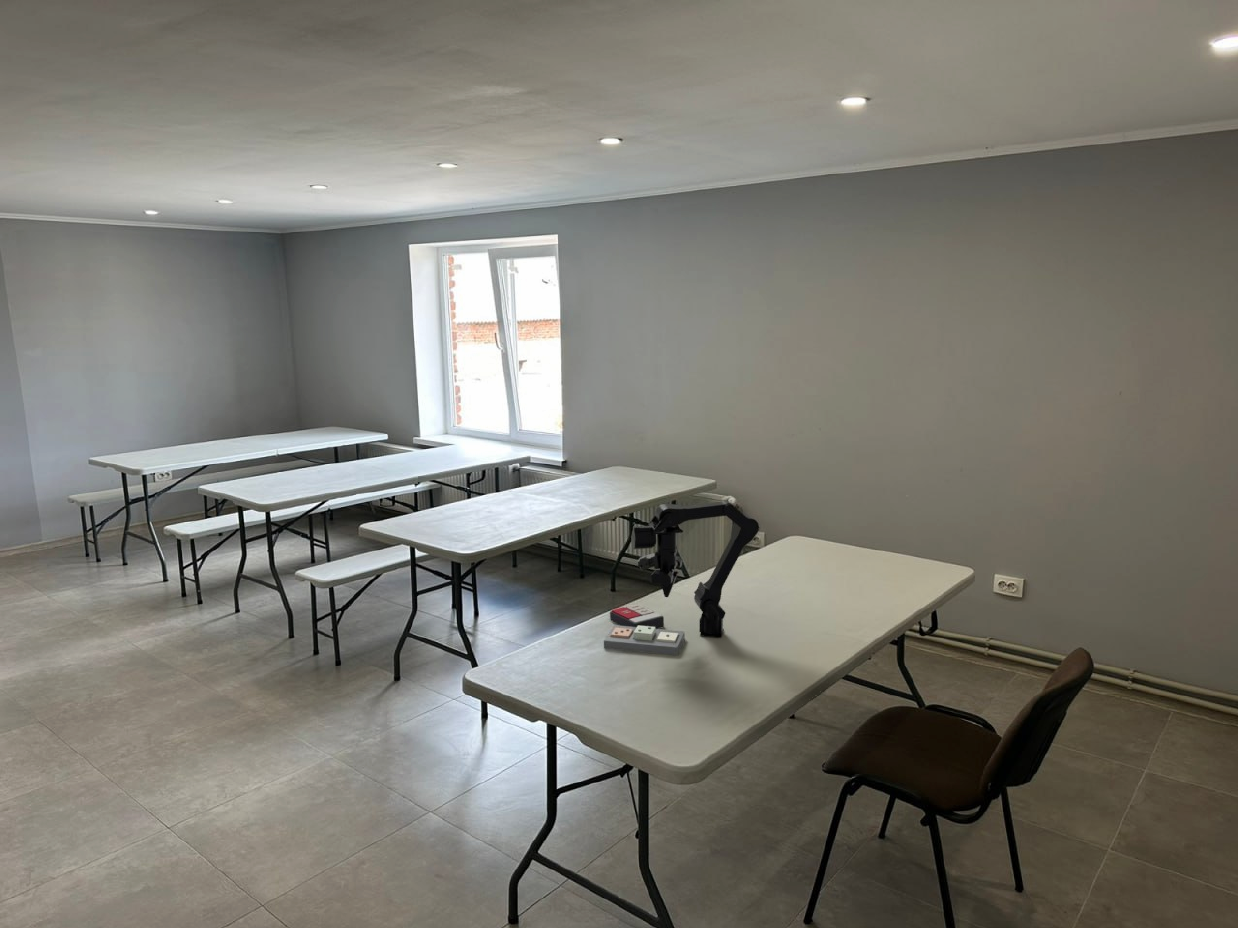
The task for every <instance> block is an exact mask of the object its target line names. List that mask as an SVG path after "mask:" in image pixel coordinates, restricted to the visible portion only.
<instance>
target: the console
mask: <svg viewBox="0 0 1238 928" xmlns="http://www.w3.org/2000/svg"><path fill="white" fill-rule="evenodd" d="M615 628H626V629H633V633H632V635H631V637H630V638H629V639H628V638H617V637H611V634H612V632H613V631H614V629H615ZM636 628H637V627H630V626H621V625H619V624H614V625H613V626H612V628H611V629H610V630H609V632H608V633H607V635H606V637H605V638H604V640H603V648H604V649H609V650H617V651H618V650H621V651H630V652H641V653H650V654H662V655H670V656H671V655H672V656H678V655H679V652H680V650H681V647H682V645H683V644H684V641H685V631H684V630H674V629H673V630H672V629H671V630H670V629H661V628H658V629H655V637H654V638H653V640H652V641H649V640H639V639H634V631H635V629H636ZM660 632H669V633H678V639H677V641H676V643H671V642H660V641H657V638H658V636H659V634H660Z"/></svg>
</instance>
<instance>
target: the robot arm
mask: <svg viewBox="0 0 1238 928" xmlns="http://www.w3.org/2000/svg"><path fill="white" fill-rule="evenodd" d="M716 517H717V518H719V517H727V518H728V519H729V520H730V521H732V523H733V525H732V527H731V532H730V539H729V541H728V543H727V546H726V547H725V549H724V550H723V552H722V554H721V557H720V558H719V560H718V561H717V564H716V566H715V567H714V569H713V572H712V573H711V575H710V577H709V579H708V580H707V581H706V582H702V581H700V582H699V583H698V586H697V588H696V590H695V591H693V593H694V597H693V599H694V602H695V604H696V606H697V607H698V608H699V610H701V612H702V613H701V616H700V618H699V633H700V634H699V637H706V638H707V637H708V638H717V639H718V638H719V639H722V637H723V634H724V631H725V629H724V618H725V615H726V611H725V610H724V609H723V607H721V605H720V601H721V599H722V591H723V587H724V585H725V583H726V582H727V579H728V578H729V575H730V574H731V572H732V570H733V568H734V567H735V565H736V562H737V561H738V559H739V558H740V555H741V553H742V551H743V550H744V548H745V547H746V546H747V545H748V544H749V543H751V542H752V541H753V540H754V538H755V537H756V535H757V534H758V533H759V531H760V525H759V523H758V521H757V520H756V519H755V518H753V517H752V516H750V515H749V514H747V513H743V512H741V511H740V510H739V509H738V508H736V507H735V505H734V504H733V503H732V502H730V501H729V500H722V501H716V502H709V503H708V502H707V503H699V504H693V505H692V504H691V505H680V504H672V503H662V504H660V505H658V507H656V510H655V514H654V515H653V517H652V518H651V520H650V521H649V522H648V525H645V526H643V525H642V526H639V525H633V526H632V531H631V536H630V538H631V539H630V541H631V542H630V543H631V547H632V550H644V549H653V548H654V547H656V550H655V552H654V553H649V554H646V555H643V556H641V557H639V558H638V560H637V567H638V568H639V569H640V571H646V570H647V569H651V568H653V567H654V568H653V569H655V570H653V572H652V573H651V575H649V582H650V583H651V584H660V586H661V588H662V593H663V596H664V598H669V596H670V594H671V593H672V589H673V586H674V584H675V582H676V579H677V577H678V574H679V571H677V570H676V571H675V569H676V568H677V567H678V568H681V567H682V566H683V559H682V557H680V556H679V555H678V556H677V554H678V548H677V534H682V533H683V532H684V530H683V528H681V527H680V526H679V525H682V524H684V523H685V522H687V521H688V522H689V521H694V520H701V519H710V518H716Z"/></svg>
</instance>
